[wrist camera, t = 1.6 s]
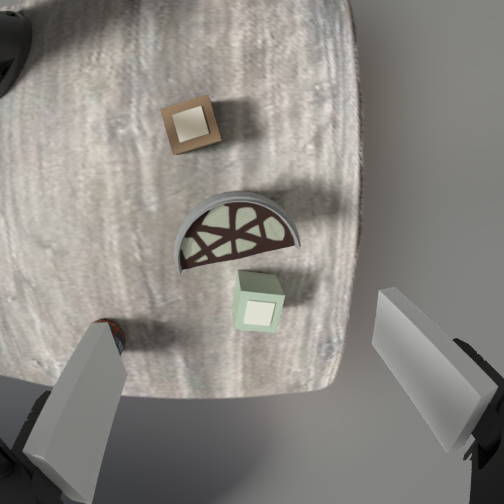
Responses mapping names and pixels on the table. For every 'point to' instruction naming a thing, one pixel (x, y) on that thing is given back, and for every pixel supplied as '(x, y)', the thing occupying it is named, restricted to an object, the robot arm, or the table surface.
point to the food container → (232, 229)
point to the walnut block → (191, 125)
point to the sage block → (257, 302)
